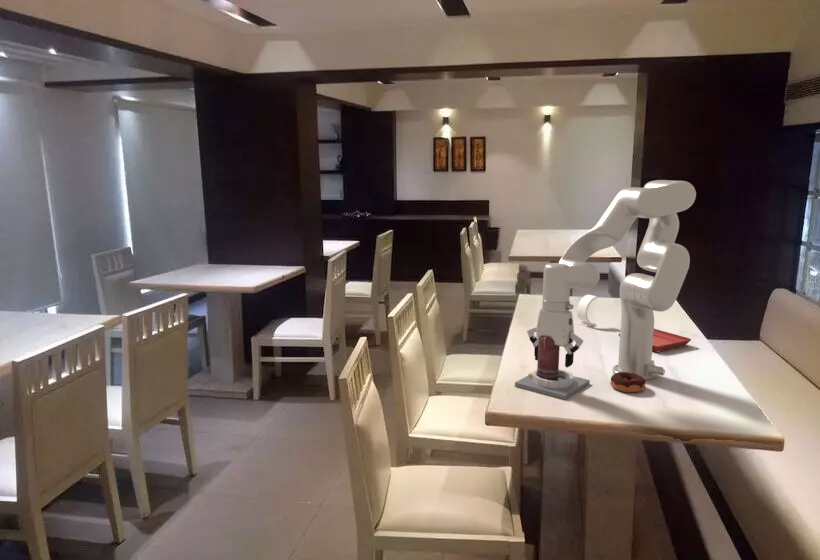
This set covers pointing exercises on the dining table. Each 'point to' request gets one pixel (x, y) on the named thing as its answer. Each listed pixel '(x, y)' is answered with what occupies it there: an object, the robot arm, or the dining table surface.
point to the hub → (553, 384)
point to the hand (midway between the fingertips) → (553, 362)
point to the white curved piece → (585, 310)
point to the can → (547, 359)
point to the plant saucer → (667, 341)
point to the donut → (627, 382)
